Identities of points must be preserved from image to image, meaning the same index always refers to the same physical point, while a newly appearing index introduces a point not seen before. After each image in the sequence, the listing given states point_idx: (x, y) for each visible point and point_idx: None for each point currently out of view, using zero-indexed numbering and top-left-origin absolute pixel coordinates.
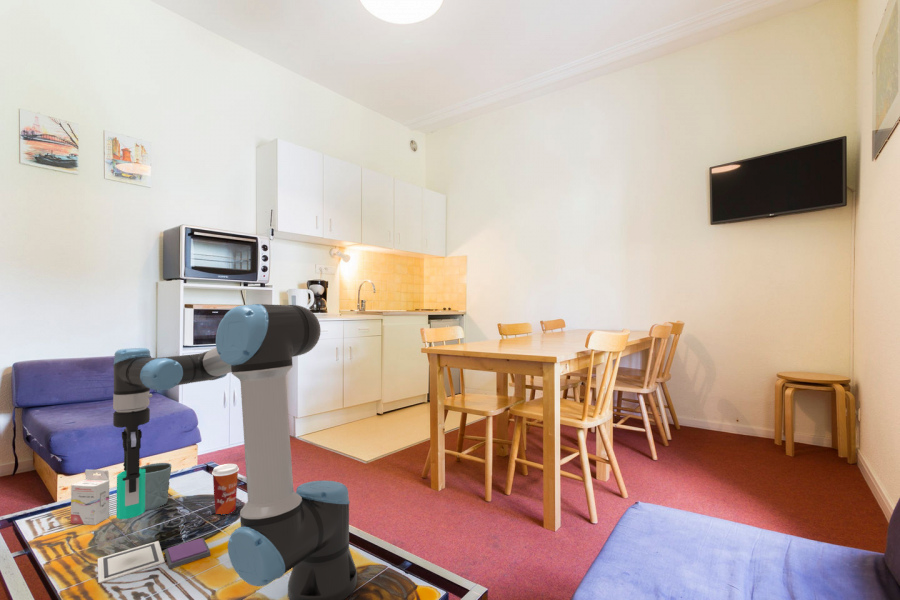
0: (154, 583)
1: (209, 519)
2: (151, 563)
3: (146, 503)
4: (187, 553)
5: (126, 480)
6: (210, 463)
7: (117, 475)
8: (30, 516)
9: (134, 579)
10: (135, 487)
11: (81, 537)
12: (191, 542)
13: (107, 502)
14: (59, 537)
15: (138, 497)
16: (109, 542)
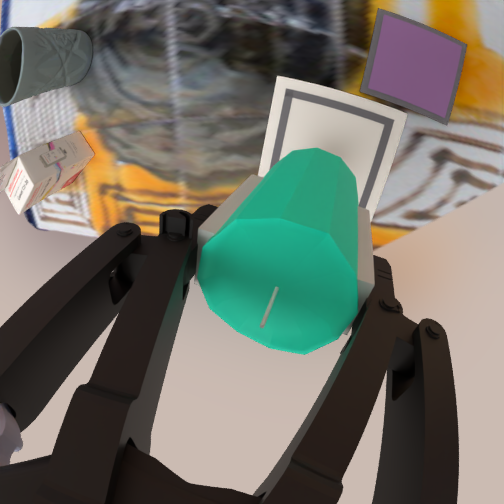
0: (468, 170)
1: None
2: (390, 134)
3: (78, 69)
4: (440, 78)
5: (349, 329)
6: None
7: (259, 342)
8: (34, 214)
9: (417, 182)
10: (391, 277)
11: (129, 182)
12: (389, 40)
13: (57, 143)
14: (109, 206)
15: (369, 222)
16: (188, 152)
